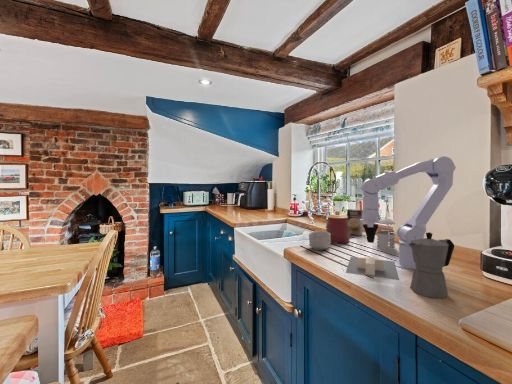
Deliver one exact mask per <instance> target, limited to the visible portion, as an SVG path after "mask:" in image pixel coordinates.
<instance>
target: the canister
mask: <svg viewBox="0 0 512 384" xmlns="http://www.w3.org/2000/svg"><path fill="white" fill-rule="evenodd" d="M326 217H327V219H326V220H325V222H326V225H325V232H328V233H330V234H331V235H330V236H331V243H332V244H347V243H350V239H351V238H350V235H349V228H350V227H349V222H350V221H349V220H348V219H347V218H348V217H347V214H344V213H341V211H340V210H336V211H335V212H334V213H330V214H329V215H327V216H326Z"/></svg>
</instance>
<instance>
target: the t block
mask: <svg viewBox="0 0 512 384" xmlns="http://www.w3.org/2000/svg"><path fill="white" fill-rule="evenodd" d="M356 257H357V268H363V269H366V274H368V275H375V270H378V271H384V260H385V259H384V258H383V257H375V256H368V255H367V256H366V255H357V256H356Z"/></svg>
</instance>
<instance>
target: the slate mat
mask: <svg viewBox="0 0 512 384" xmlns="http://www.w3.org/2000/svg"><path fill="white" fill-rule="evenodd" d="M357 257H358V256H350V258H349V261H348V264H347V268H346V270H345V273H346V274H354V275H360V276H367V277H374V278H381V279H388V280H395V281H400V277H399V274H398V270H397V266H396V262H395V261H394V260H385V259H384V271H378V270H375V275H368V274H366V269H363V268H357Z"/></svg>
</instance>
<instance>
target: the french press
mask: <svg viewBox="0 0 512 384" xmlns="http://www.w3.org/2000/svg"><path fill="white" fill-rule="evenodd" d="M383 202H384V203H388V202H389V200H388V199H384V200H383ZM378 220H379V222H378V223H377V224H381V225H386V227H387V228H378V229H377V231H376V237H377V239H376V241H377V242H376V244H377V245H376V247H375V248H374V249H375V250H376V251H377V250H380V251H383V252H397V251H398V250H397V249H396V244H395V243H396V240H395V239H396V238H395V236H396V234H395V233H394V232H395V230H394V227H393V225H395V224H396V222H395V221H394V220H391V219H389V218H383V219H378ZM391 228H392V229H391Z"/></svg>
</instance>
